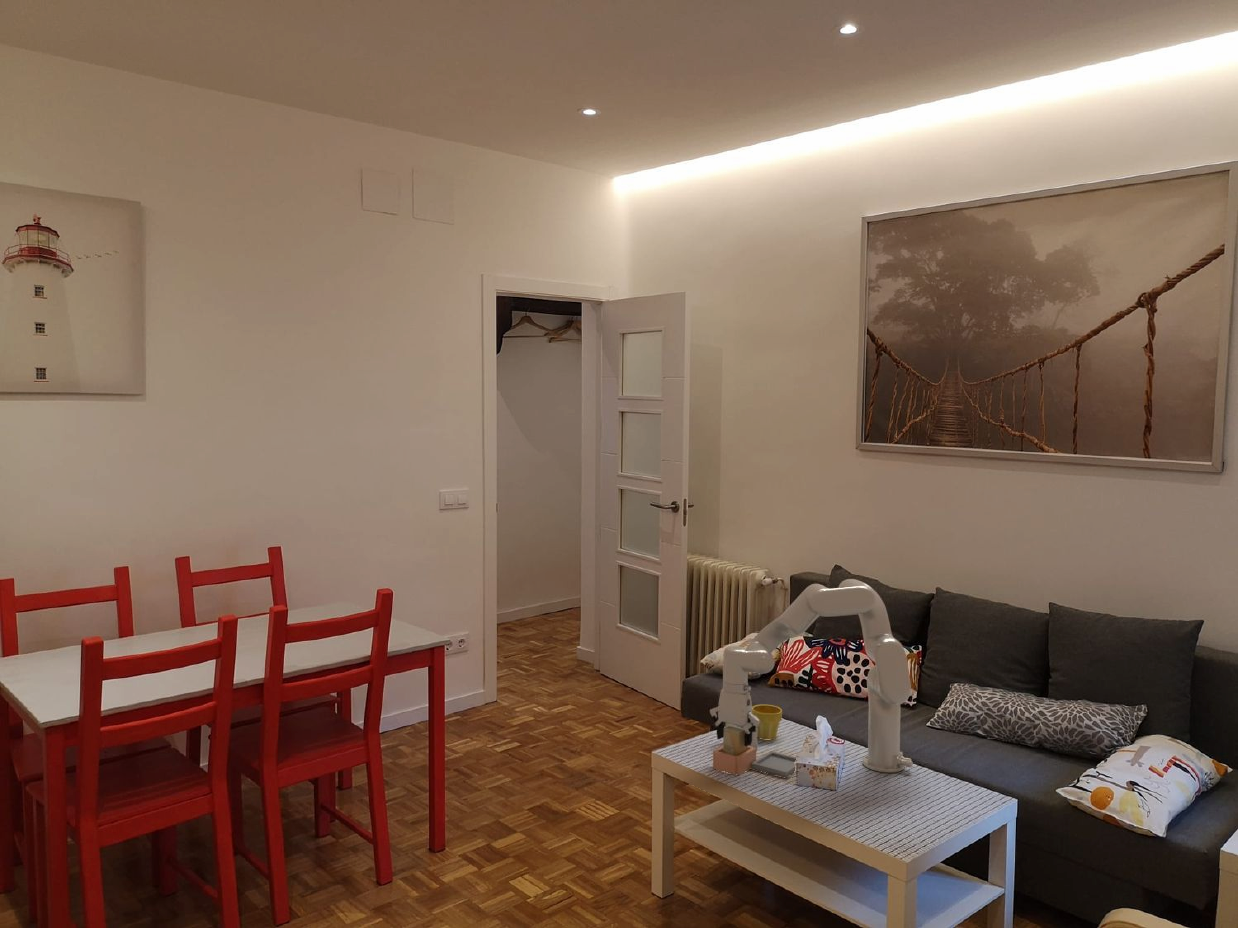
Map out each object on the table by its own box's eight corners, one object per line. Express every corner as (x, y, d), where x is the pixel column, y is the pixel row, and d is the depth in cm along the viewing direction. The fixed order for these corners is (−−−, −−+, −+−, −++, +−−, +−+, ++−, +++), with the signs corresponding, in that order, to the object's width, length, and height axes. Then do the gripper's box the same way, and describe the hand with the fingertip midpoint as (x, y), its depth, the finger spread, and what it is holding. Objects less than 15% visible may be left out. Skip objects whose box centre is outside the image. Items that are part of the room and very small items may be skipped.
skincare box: (722, 765, 274) (722, 727, 274) (730, 762, 277) (731, 724, 277) (738, 771, 270) (738, 732, 269) (747, 767, 273) (747, 729, 272)
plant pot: (786, 735, 302) (786, 707, 302) (774, 744, 293) (775, 715, 293) (758, 729, 307) (758, 702, 307) (746, 738, 299) (746, 710, 298)
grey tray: (805, 765, 275) (805, 759, 275) (786, 778, 264) (786, 772, 264) (771, 756, 282) (771, 750, 282) (751, 769, 272) (751, 762, 272)
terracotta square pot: (756, 764, 275) (757, 747, 275) (738, 776, 266) (738, 758, 266) (730, 757, 281) (730, 740, 281) (711, 768, 272) (712, 751, 272)
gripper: (765, 689, 270) (764, 744, 271) (717, 679, 281) (716, 732, 281) (753, 695, 264) (752, 751, 265) (704, 684, 275) (703, 738, 275)
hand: (734, 741), depth 273 cm, fingers open, 9 cm apart
